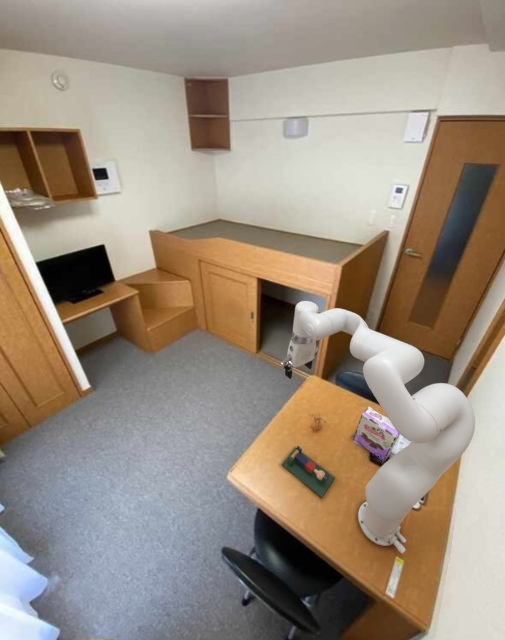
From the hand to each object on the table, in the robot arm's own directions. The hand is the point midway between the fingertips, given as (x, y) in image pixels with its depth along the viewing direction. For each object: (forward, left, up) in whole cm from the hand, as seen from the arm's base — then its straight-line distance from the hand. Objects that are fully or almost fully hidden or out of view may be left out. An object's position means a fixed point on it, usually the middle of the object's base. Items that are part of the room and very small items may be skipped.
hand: (298, 371), depth 106 cm
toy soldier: (-20, +8, -28) cm, 36 cm away
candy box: (-26, -21, -31) cm, 46 cm away
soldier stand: (-20, +8, -31) cm, 38 cm away
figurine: (-8, -7, -31) cm, 33 cm away
